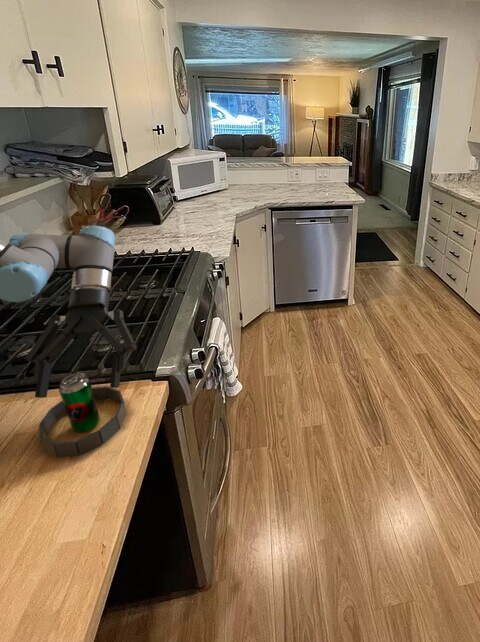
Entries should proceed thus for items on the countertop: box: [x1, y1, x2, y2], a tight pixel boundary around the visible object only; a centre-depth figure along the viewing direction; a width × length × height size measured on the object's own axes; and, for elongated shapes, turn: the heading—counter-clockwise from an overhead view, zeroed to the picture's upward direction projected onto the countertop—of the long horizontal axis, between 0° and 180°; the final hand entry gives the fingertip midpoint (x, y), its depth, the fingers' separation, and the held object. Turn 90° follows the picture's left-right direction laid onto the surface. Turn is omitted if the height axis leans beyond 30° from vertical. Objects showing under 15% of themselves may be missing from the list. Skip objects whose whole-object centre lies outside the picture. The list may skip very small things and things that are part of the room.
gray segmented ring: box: [38, 386, 128, 459], centre depth 75 cm, size 15×15×4 cm
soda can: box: [58, 372, 101, 434], centre depth 73 cm, size 5×5×12 cm
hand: (78, 392), depth 73 cm, fingers open, 13 cm apart
